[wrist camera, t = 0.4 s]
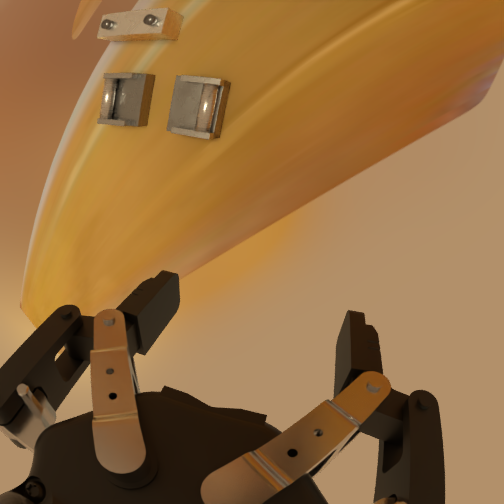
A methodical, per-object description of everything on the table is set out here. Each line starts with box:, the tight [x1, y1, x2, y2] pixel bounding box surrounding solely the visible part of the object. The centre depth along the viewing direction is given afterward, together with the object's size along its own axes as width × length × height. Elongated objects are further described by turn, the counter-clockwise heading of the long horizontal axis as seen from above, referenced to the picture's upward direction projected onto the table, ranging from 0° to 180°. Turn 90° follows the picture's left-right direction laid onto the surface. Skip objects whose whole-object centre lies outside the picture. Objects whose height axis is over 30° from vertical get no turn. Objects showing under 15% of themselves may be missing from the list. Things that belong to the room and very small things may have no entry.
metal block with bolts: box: [97, 8, 184, 42], centre depth 31 cm, size 4×12×6 cm, turn 77°
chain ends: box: [97, 73, 230, 139], centre depth 36 cm, size 8×19×4 cm, turn 78°
